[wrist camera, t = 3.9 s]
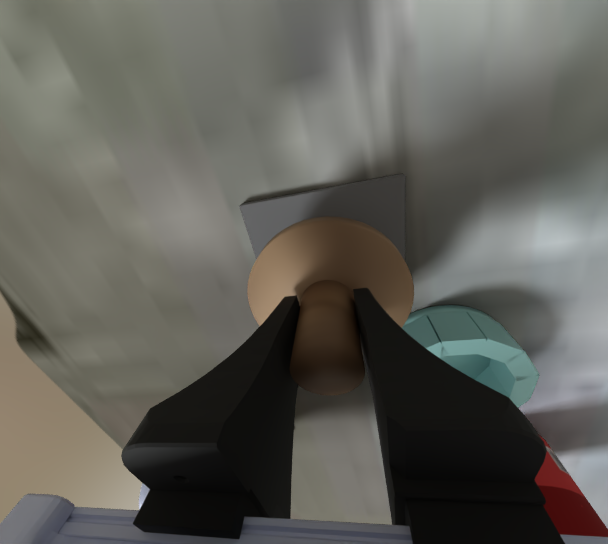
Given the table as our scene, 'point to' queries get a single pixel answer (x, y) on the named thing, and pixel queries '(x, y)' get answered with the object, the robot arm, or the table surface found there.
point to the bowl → (475, 348)
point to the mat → (332, 209)
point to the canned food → (566, 500)
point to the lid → (329, 294)
